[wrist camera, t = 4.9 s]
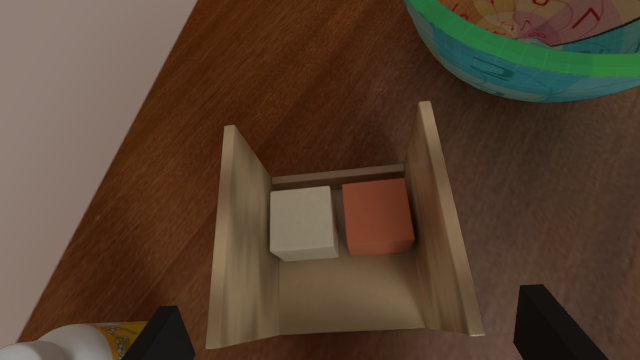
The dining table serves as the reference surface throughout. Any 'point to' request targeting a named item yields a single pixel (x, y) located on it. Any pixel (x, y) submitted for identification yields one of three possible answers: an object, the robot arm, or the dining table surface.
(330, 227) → the cream block
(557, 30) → the bowl
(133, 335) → the supplement bottle
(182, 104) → the dining table surface
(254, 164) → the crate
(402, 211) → the terracotta block
